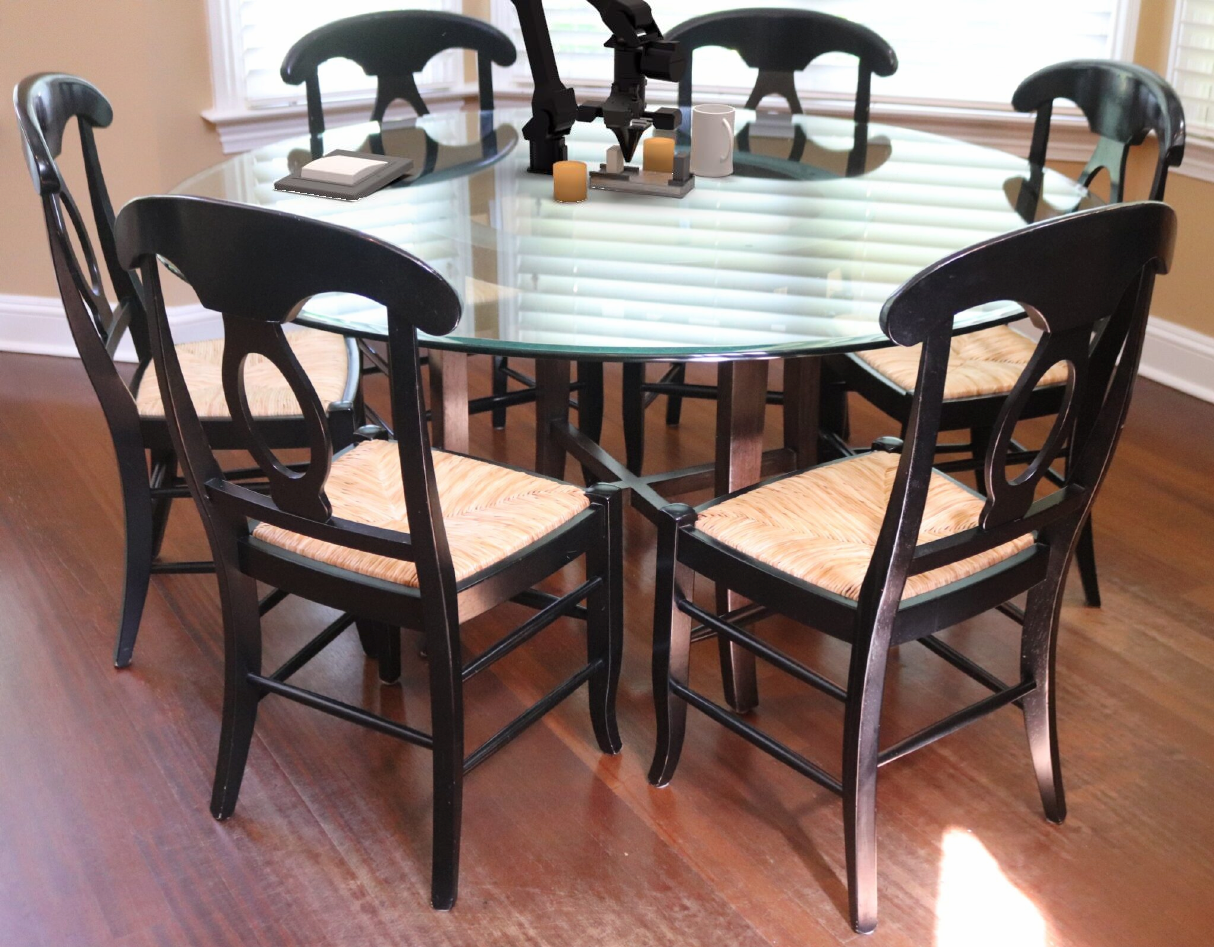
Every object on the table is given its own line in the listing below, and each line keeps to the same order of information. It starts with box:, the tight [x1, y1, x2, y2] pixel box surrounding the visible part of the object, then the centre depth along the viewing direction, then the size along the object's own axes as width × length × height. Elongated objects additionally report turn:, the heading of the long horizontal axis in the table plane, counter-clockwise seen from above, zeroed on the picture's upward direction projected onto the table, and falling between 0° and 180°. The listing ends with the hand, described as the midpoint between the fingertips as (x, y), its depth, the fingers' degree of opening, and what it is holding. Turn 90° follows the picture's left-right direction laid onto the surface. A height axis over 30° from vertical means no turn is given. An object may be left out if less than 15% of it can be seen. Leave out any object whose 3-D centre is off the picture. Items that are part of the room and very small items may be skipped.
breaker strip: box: [588, 162, 696, 199], centre depth 231 cm, size 18×8×3 cm, turn 70°
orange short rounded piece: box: [642, 136, 676, 173], centre depth 239 cm, size 6×6×6 cm
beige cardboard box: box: [605, 144, 625, 174], centre depth 231 cm, size 2×4×4 cm, turn 160°
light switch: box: [273, 148, 415, 201], centre depth 233 cm, size 18×5×20 cm
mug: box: [690, 103, 736, 178], centre depth 237 cm, size 12×8×12 cm
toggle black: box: [673, 151, 691, 180], centre depth 227 cm, size 2×4×4 cm, turn 160°
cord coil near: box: [552, 160, 588, 203], centre depth 224 cm, size 6×6×6 cm
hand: (628, 162), depth 230 cm, fingers closed
